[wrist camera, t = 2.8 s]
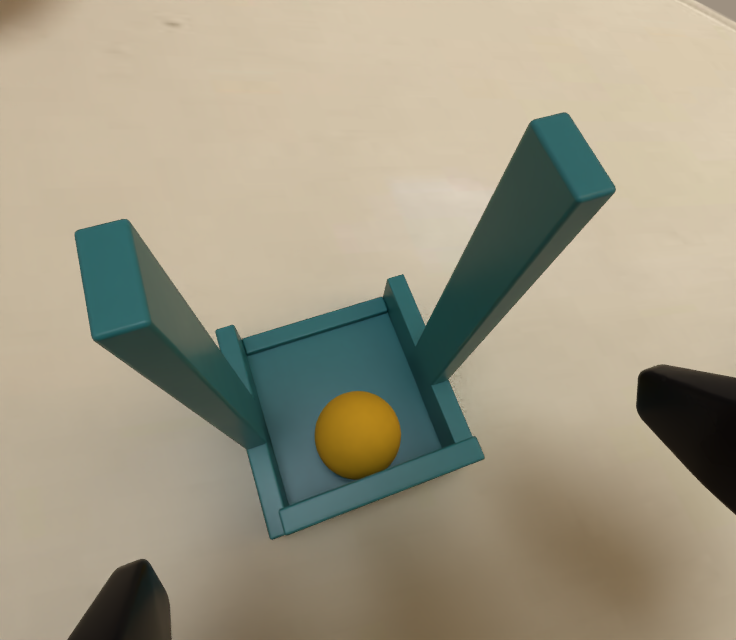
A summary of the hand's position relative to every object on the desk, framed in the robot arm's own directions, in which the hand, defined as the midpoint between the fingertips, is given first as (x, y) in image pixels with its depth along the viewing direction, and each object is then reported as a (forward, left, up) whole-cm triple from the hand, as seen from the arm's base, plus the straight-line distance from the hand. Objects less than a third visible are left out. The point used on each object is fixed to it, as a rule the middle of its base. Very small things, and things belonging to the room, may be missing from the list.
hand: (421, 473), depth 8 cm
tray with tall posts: (+3, -2, -10) cm, 11 cm away
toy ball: (+2, -1, -8) cm, 9 cm away
